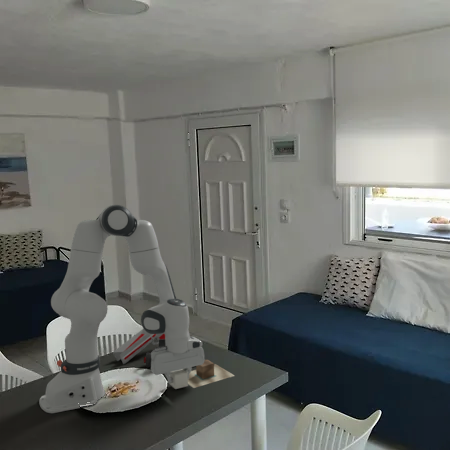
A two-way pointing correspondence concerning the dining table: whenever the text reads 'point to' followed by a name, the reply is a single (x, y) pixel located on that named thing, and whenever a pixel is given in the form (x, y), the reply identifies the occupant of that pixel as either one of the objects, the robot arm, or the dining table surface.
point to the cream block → (179, 378)
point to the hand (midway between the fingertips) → (178, 380)
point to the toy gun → (136, 345)
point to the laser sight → (148, 355)
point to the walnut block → (205, 369)
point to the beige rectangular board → (218, 375)
